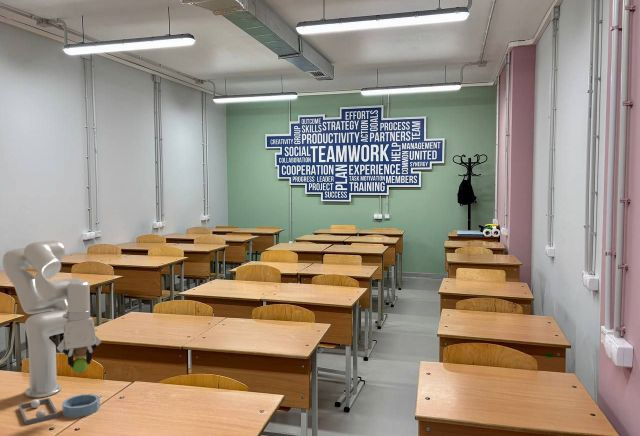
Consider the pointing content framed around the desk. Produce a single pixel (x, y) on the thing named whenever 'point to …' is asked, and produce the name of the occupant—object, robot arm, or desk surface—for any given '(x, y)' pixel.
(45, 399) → the tray
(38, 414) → the pebble
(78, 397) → the bowl
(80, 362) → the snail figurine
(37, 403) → the pebble
